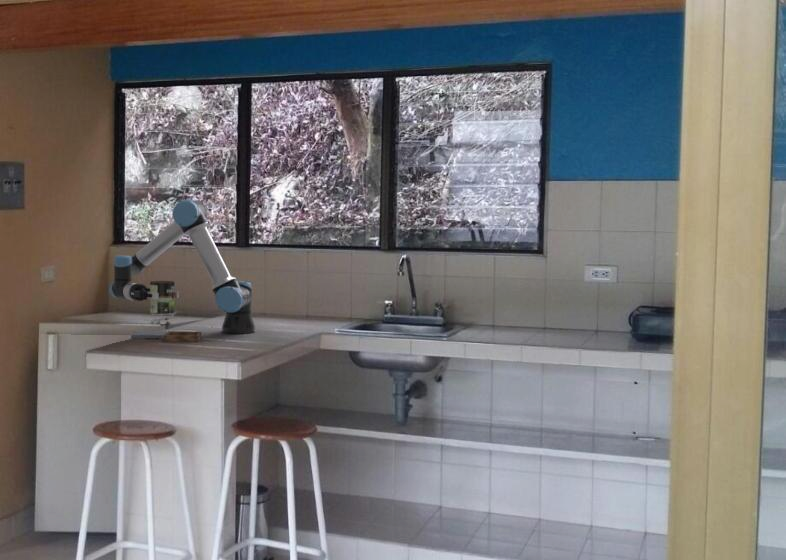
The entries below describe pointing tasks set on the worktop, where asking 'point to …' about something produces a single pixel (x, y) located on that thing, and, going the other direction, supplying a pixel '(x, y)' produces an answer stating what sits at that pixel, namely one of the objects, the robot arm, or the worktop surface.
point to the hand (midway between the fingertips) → (168, 295)
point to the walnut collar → (182, 336)
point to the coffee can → (162, 298)
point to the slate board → (147, 335)
